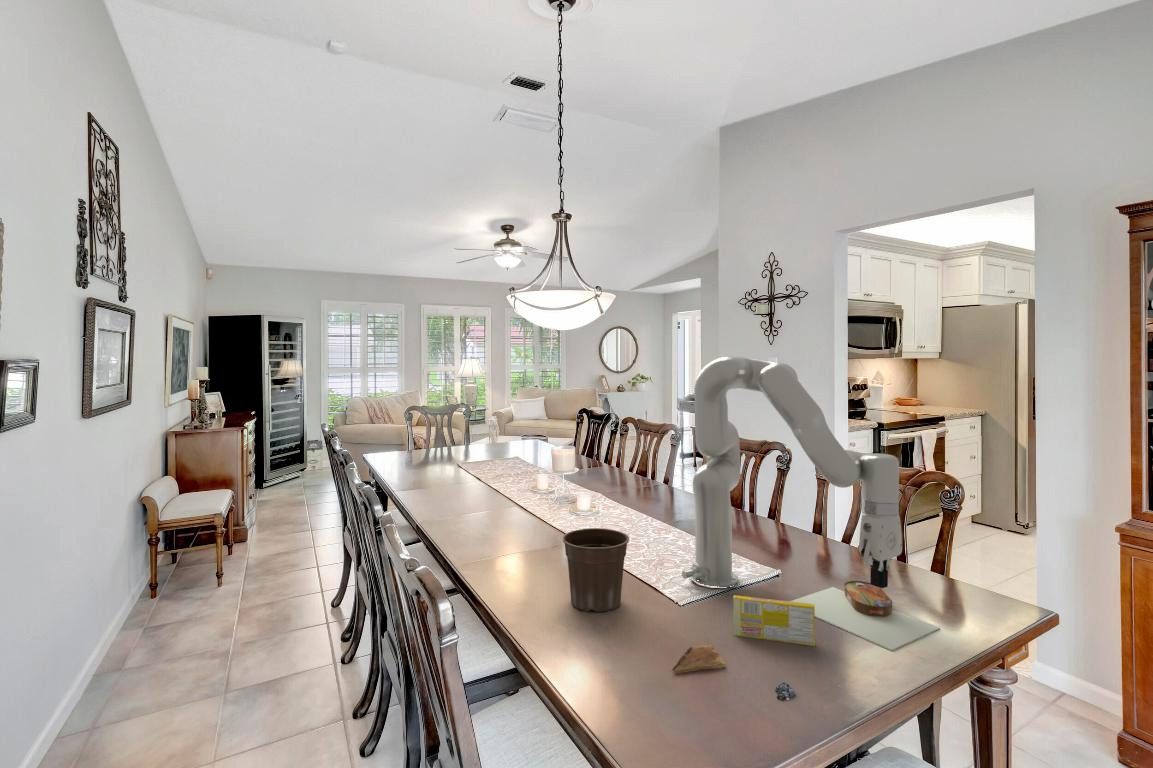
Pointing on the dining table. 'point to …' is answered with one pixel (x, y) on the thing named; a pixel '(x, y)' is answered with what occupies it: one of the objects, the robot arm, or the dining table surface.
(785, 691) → the blueberries
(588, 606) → the plant pot
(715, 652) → the shard
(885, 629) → the placemat
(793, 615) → the candy box
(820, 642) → the dining table surface
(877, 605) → the tin
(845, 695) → the dining table surface
